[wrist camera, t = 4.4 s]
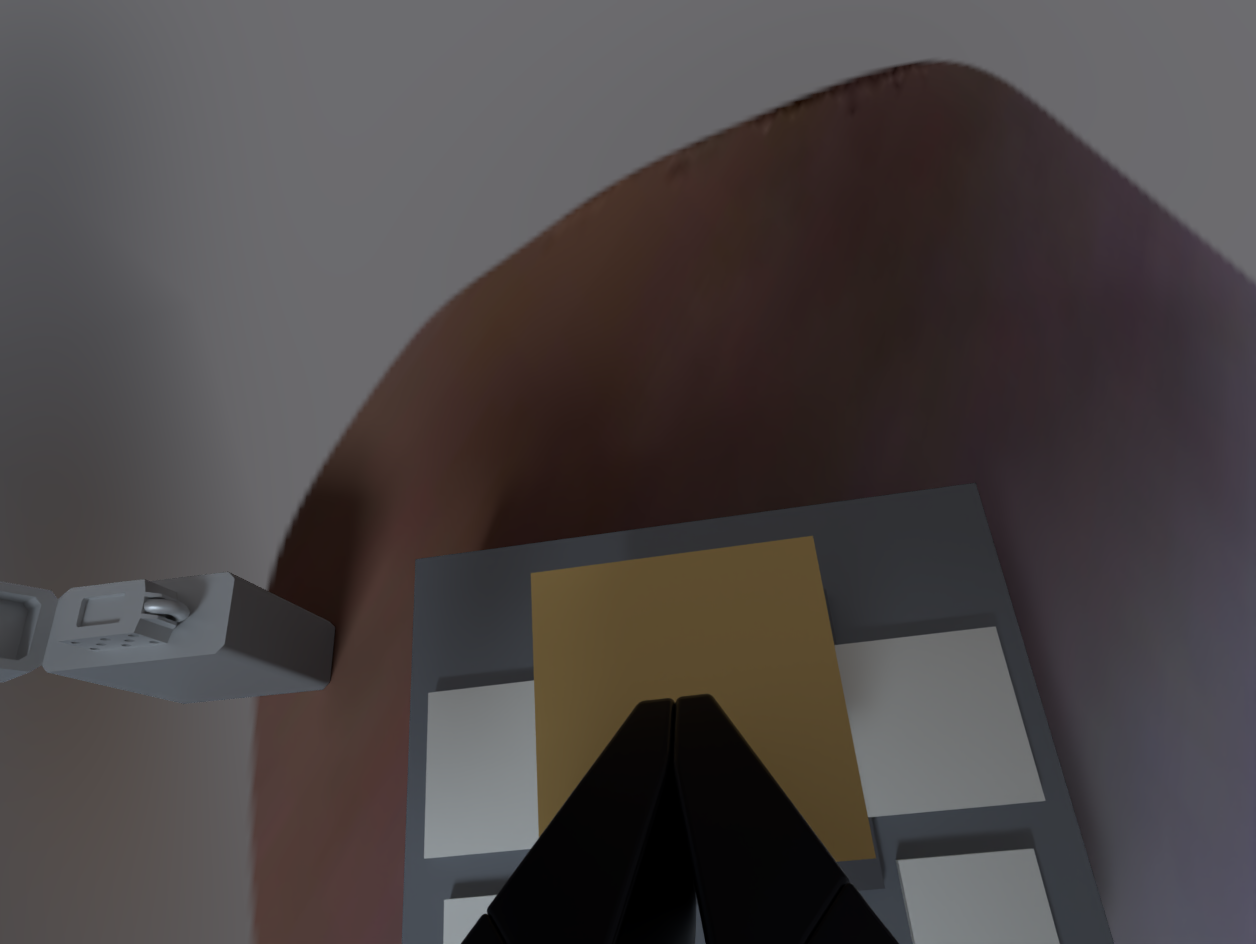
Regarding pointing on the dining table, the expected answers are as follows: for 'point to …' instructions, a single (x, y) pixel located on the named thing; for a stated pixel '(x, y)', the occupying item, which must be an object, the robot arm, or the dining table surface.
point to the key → (700, 670)
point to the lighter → (168, 638)
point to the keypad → (876, 704)
